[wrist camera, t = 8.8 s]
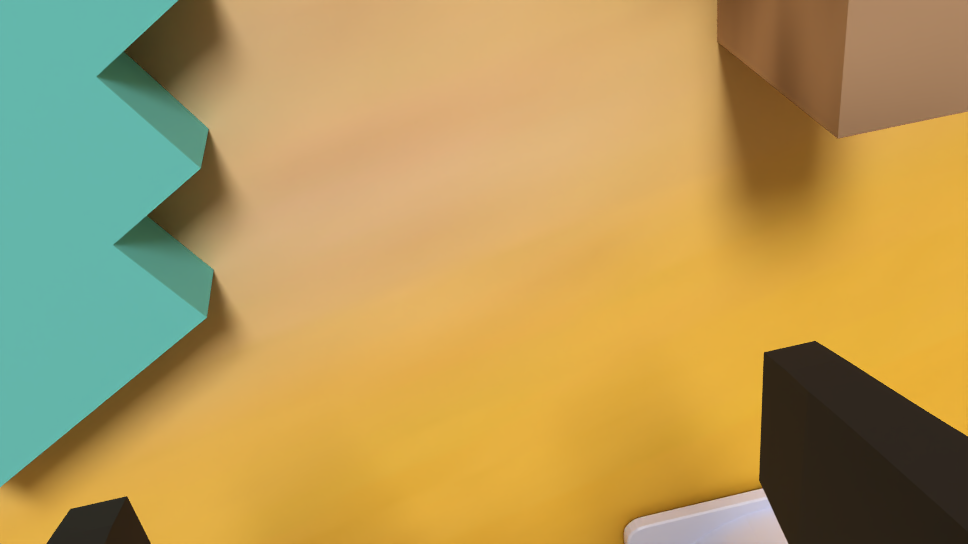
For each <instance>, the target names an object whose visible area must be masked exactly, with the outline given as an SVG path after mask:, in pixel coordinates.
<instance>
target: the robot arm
mask: <svg viewBox="0 0 968 544" xmlns="http://www.w3.org/2000/svg"><path fill="white" fill-rule="evenodd" d="M759 481H760V483H761V485H762V489H757V490H753V491H749V492H745V493H741V494H736V495H732V496H728V497H724V498H719V499H715V500H711V501H707V502H703V503H698V504H694V505H690V506H686V507H681V508H677V509H673V510H669V511H665V512H660V513H656V514H652V515H648V516H643V517H640V518H637V519H634V520H633V521H631V522H630V523H629V524H628V525H627V526H626V528H625V530H624V544H968V436H966V435H964V434H963V433H961V432H959V431H958V430H956V429H955V428H953V427H951V426H950V425H948V424H946V423H945V422H943V421H941V420H940V419H938V418H937V417H935V416H933V415H932V414H930V413H929V412H927V411H925V410H924V409H922V408H921V407H919V406H917V405H916V404H914V403H913V402H911V401H909V400H908V399H906V398H905V397H903V396H902V395H900V394H898V393H897V392H895V391H894V390H892V389H890V388H889V387H887V386H886V385H884V384H883V383H881V382H880V381H878V380H876V379H875V378H873V377H872V376H870V375H869V374H867V373H865V372H864V371H862V370H861V369H859V368H858V367H856V366H855V365H853V364H851V363H850V362H848V361H847V360H845V359H844V358H842V357H840V356H839V355H837V354H836V353H834V352H832V351H831V350H829V349H828V348H826V347H824V346H823V345H821V344H819V343H818V342H816V341H813V342H808V343H804V344H800V345H795V346H791V347H786V348H782V349H777V350H773V351H769V352H764V366H763V393H762V420H761V447H760V474H759ZM47 544H151V543H150V541H149V539H148V537H147V535H146V533H145V531H144V529H143V527H142V525H141V523H140V521H139V519H138V517H137V515H136V513H135V511H134V509H133V507H132V505H131V503H130V501H129V499H128V497H127V496H126V497H122V498H118V499H113V500H109V501H104V502H100V503H95V504H91V505H87V506H82V507H78V508H73V509H70V510H69V512H68V513H67V515H66V516H65V518H64V519H63V521H62V522H61V523H60V525H59V526H58V528H57V529H56V531H55V532H54V533H53V535H52V536H51V538H50V539H49V541H48V542H47Z"/></svg>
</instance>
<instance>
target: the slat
mask: <svg viewBox="0 0 968 544" xmlns="http://www.w3.org/2000/svg"><path fill="white" fill-rule="evenodd" d="M717 42H718V43H720V44H721V45H722V46H723V47H725V48H726V49H727V50H728V51H729V52H731V53H732V54H733V55H734V56H736V57H737V58H738V59H739V60H741V61H742V62H743V63H744V64H746V65H747V66H748V67H749V68H751V69H752V70H753V71H754V72H756V73H757V74H758V75H759V76H761V77H762V78H763V79H764V80H766V81H767V82H768V83H769V84H771V85H772V86H773V87H774V88H776V89H777V90H778V91H779V92H781V93H782V94H783V95H784V96H786V97H787V98H788V99H789V100H790V101H792V102H793V103H794V104H795V105H797V106H798V107H799V108H800V109H802V110H803V111H804V112H805V113H807V114H808V115H809V116H810V117H812V118H813V119H814V120H815V121H817V122H818V123H819V124H820V125H822V126H823V127H824V128H825V129H827V130H828V131H829V132H830V133H832V134H833V135H834V136H835V137H837V138H842V137H847V136H852V135H857V134H862V133H866V132H871V131H876V130H881V129H886V128H890V127H895V126H900V125H905V124H909V123H914V122H919V121H924V120H929V119H933V118H938V117H943V116H948V115H952V114H957V113H962V112H967V111H968V0H717Z"/></svg>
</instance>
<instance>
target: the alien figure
mask: <svg viewBox="0 0 968 544" xmlns="http://www.w3.org/2000/svg"><path fill="white" fill-rule="evenodd" d="M177 1H178V0H0V487H1V486H2V485H3V484H5V483H6V482H7V481H8V480H10V479H11V478H12V477H13V476H14V475H16V474H17V473H18V472H19V471H20V470H22V469H23V468H24V467H25V466H27V465H28V464H29V463H30V462H31V461H33V460H34V459H35V458H36V457H38V456H39V455H40V454H41V453H42V452H44V451H45V450H46V449H47V448H49V447H50V446H51V445H52V444H53V443H55V442H56V441H57V440H58V439H59V438H61V437H62V436H63V435H64V434H66V433H67V432H68V431H69V430H70V429H72V428H73V427H74V426H75V425H77V424H78V423H79V422H80V421H81V420H83V419H84V418H85V417H86V416H88V415H89V414H90V413H91V412H92V411H94V410H95V409H96V408H97V407H99V406H100V405H101V404H102V403H103V402H105V401H106V400H107V399H108V398H109V397H111V396H112V395H113V394H114V393H116V392H117V391H118V390H119V389H120V388H122V387H123V386H124V385H125V384H127V383H128V382H129V381H130V380H131V379H133V378H134V377H135V376H136V375H138V374H139V373H140V372H141V371H142V370H144V369H145V368H146V367H147V366H149V365H150V364H151V363H152V362H153V361H155V360H156V359H157V358H158V357H159V356H161V355H162V354H163V353H164V352H166V351H167V350H168V349H169V348H170V347H172V346H173V345H174V344H175V343H177V342H178V341H179V340H180V339H181V338H183V337H184V336H185V335H186V334H188V333H189V332H190V331H191V330H192V329H194V328H195V327H196V326H197V325H198V324H200V323H201V322H202V321H203V320H205V319H206V318H207V313H208V306H209V299H210V292H211V285H212V278H213V271H214V270H213V269H212V268H211V267H209V266H208V265H207V264H206V263H204V262H203V261H202V260H201V259H200V258H198V257H197V256H196V255H195V254H193V253H192V252H191V251H190V250H188V249H187V248H186V247H185V246H184V245H182V244H181V243H180V242H179V241H177V240H176V239H175V238H174V237H172V236H171V235H170V234H169V233H168V232H166V231H165V230H164V229H163V228H161V227H160V226H159V225H158V224H156V223H155V222H154V221H153V220H151V219H150V218H149V217H148V216H147V215H148V214H149V213H150V212H151V211H152V210H154V209H155V208H156V207H157V206H158V205H159V204H161V203H162V202H163V201H164V200H165V199H166V198H167V197H169V196H170V195H171V194H172V193H173V192H174V191H175V190H177V189H178V188H179V187H180V186H181V185H182V184H184V183H185V182H186V181H187V180H188V179H189V178H190V177H192V176H193V175H194V174H195V173H196V172H197V171H198V170H200V169H201V165H202V160H203V155H204V150H205V145H206V140H207V135H208V130H209V129H208V128H207V127H206V126H205V125H204V124H203V123H202V122H200V121H199V120H198V119H197V118H196V117H195V116H194V115H193V114H192V113H191V112H190V111H188V110H187V109H186V108H185V107H184V106H183V105H182V104H181V103H180V102H179V101H177V100H176V99H175V98H174V97H173V96H172V95H171V94H170V93H169V92H168V91H166V90H165V89H164V88H163V87H162V86H161V85H160V84H159V83H158V82H157V81H155V80H154V79H153V78H152V77H151V76H150V75H149V74H148V73H147V72H146V71H145V70H143V69H142V68H141V67H140V66H139V65H138V64H137V63H136V62H135V61H134V60H132V59H131V58H130V57H129V56H128V55H127V54H126V53H125V52H124V50H125V49H126V48H128V47H129V46H130V45H131V44H132V43H133V42H134V41H135V40H136V39H137V38H138V37H139V36H140V35H141V34H143V33H144V32H145V31H146V30H147V29H148V28H149V27H150V26H151V25H152V24H153V23H154V22H155V21H157V20H158V19H159V18H160V17H161V16H162V15H163V14H164V13H165V12H166V11H167V10H168V9H169V8H170V7H172V6H173V5H174V4H175V3H176V2H177Z"/></svg>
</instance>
